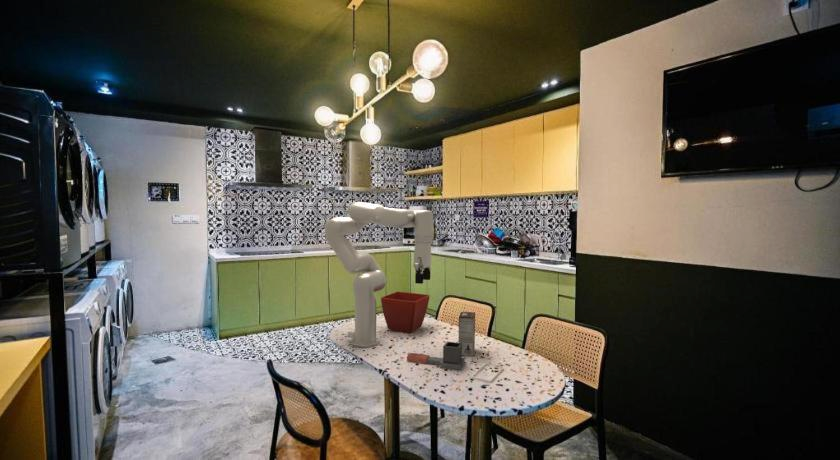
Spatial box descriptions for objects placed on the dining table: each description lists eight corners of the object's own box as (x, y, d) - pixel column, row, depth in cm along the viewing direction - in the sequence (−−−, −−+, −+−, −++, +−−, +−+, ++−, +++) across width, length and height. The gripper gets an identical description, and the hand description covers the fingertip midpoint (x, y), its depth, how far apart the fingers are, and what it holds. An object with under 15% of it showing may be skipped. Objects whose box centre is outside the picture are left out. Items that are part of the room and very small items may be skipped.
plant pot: (430, 326, 203) (430, 294, 203) (414, 336, 186) (414, 301, 185) (397, 322, 211) (397, 291, 211) (379, 331, 194) (379, 297, 193)
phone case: (490, 384, 135) (504, 370, 148) (490, 380, 135) (504, 366, 148) (470, 379, 139) (485, 366, 152) (470, 376, 139) (485, 362, 152)
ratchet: (405, 362, 153) (405, 348, 153) (412, 356, 160) (412, 342, 160) (460, 370, 146) (460, 355, 146) (464, 363, 153) (465, 349, 153)
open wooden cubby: (442, 361, 149) (443, 346, 149) (446, 356, 155) (447, 341, 154) (458, 363, 147) (458, 348, 147) (461, 358, 153) (462, 343, 152)
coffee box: (460, 347, 171) (460, 311, 171) (474, 348, 170) (475, 312, 170) (457, 354, 162) (458, 316, 162) (473, 356, 161) (474, 317, 161)
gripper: (421, 238, 171) (420, 277, 171) (407, 241, 154) (407, 284, 155) (438, 239, 168) (437, 279, 169) (425, 241, 152) (425, 285, 153)
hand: (422, 281), depth 162 cm, fingers open, 9 cm apart
